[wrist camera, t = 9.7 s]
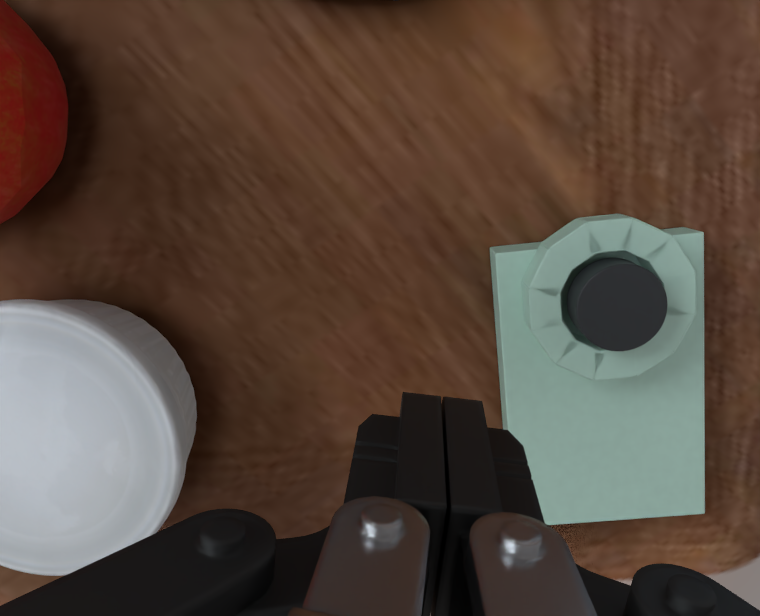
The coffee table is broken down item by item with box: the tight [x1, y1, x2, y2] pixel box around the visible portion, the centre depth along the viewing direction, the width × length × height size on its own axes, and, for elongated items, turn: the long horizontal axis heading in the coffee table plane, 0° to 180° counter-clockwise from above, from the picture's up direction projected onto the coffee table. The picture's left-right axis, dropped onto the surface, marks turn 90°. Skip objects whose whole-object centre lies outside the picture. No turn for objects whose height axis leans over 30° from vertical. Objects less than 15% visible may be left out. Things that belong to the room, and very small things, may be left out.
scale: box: [490, 214, 705, 525], centre depth 27 cm, size 13×8×4 cm, turn 6°
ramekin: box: [0, 299, 197, 576], centre depth 28 cm, size 11×11×5 cm
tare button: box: [567, 258, 668, 351], centre depth 24 cm, size 3×3×2 cm
